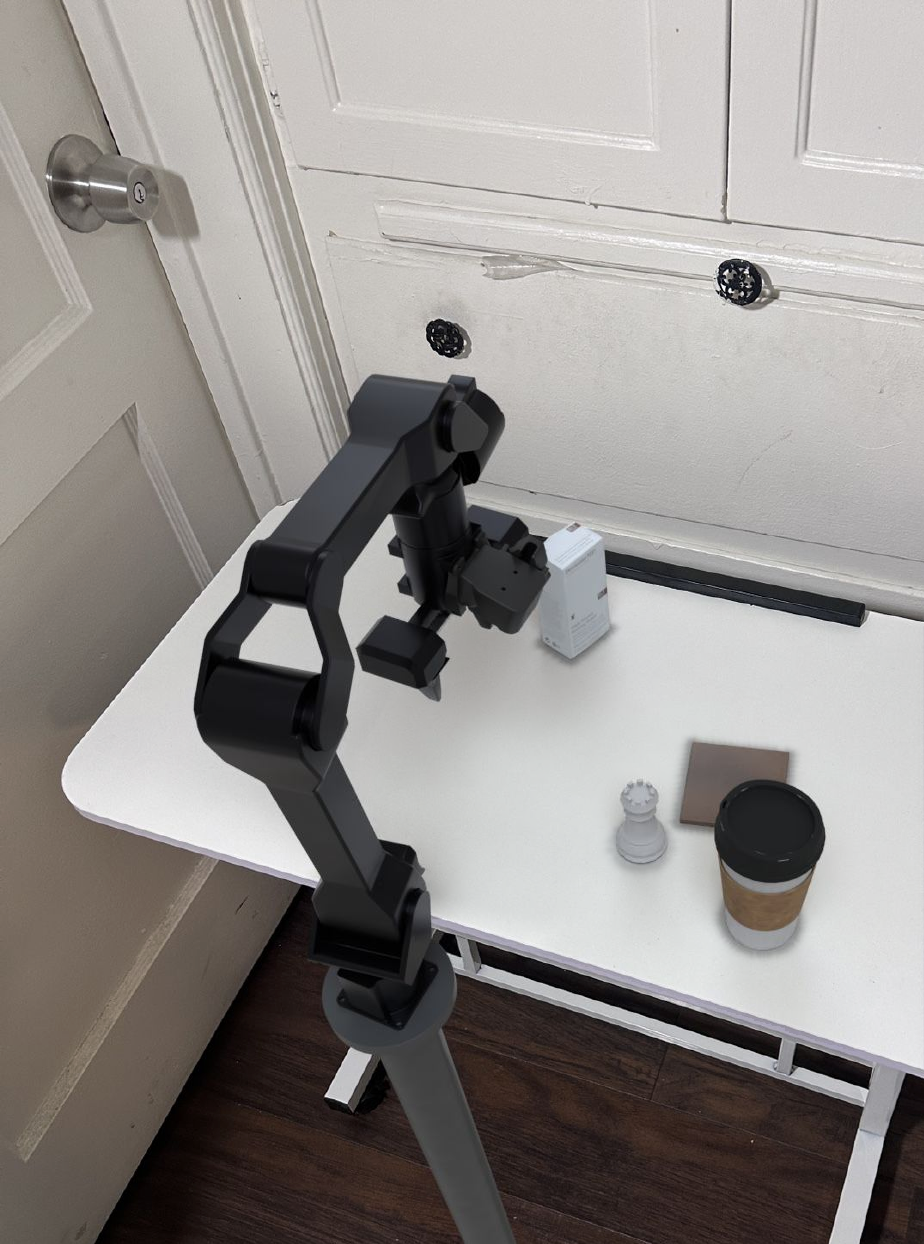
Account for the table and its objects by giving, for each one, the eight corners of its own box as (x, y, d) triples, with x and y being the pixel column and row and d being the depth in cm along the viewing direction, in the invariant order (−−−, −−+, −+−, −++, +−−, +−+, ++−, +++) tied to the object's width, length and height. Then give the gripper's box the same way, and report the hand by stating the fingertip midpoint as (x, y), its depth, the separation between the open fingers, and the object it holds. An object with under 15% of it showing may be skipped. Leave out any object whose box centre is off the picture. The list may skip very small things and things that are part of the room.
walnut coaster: (780, 834, 109) (780, 830, 108) (679, 823, 110) (679, 819, 109) (789, 755, 114) (789, 751, 114) (692, 745, 115) (693, 741, 115)
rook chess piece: (624, 820, 110) (620, 765, 104) (672, 829, 109) (671, 775, 103) (610, 860, 108) (606, 806, 101) (659, 870, 107) (658, 817, 100)
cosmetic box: (572, 662, 122) (562, 572, 113) (539, 641, 124) (527, 551, 115) (613, 627, 125) (607, 537, 116) (580, 608, 127) (572, 517, 118)
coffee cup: (726, 866, 107) (732, 760, 95) (822, 892, 105) (839, 787, 93) (698, 947, 102) (700, 846, 90) (797, 976, 100) (812, 876, 88)
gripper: (464, 634, 87) (491, 769, 99) (579, 477, 97) (590, 616, 109) (332, 593, 90) (374, 728, 102) (457, 444, 100) (481, 583, 113)
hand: (461, 662), depth 107 cm, fingers open, 9 cm apart
